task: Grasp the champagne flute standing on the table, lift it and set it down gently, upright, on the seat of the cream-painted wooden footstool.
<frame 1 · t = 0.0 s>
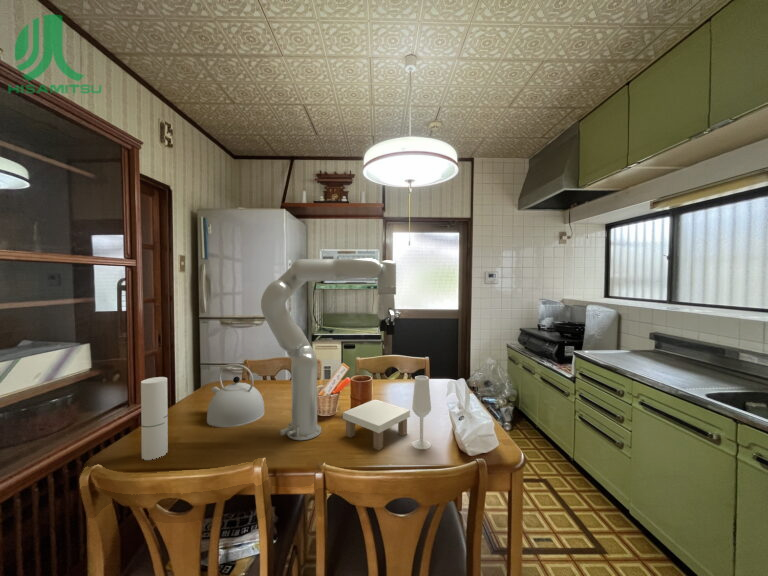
hand: (386, 332, 132), 37 cm above the table, tool pointing down, fingers open, 9 cm apart
kettle: (234, 416, 140), on the table
cylindrical container: (154, 454, 108), on the table
footstool: (376, 434, 122), on the table
champagne flute: (421, 444, 115), on the table
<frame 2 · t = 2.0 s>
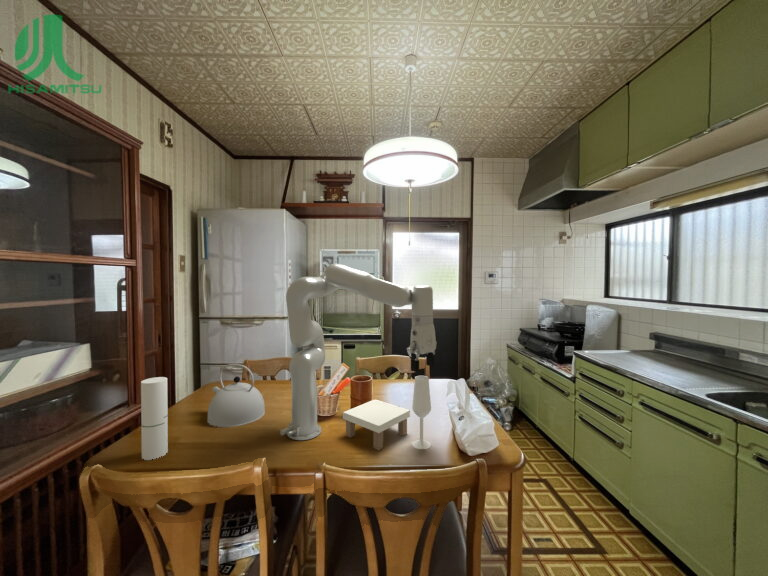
hand: (422, 368, 115), 27 cm above the table, tool pointing down, fingers open, 9 cm apart
nothing on the table moved.
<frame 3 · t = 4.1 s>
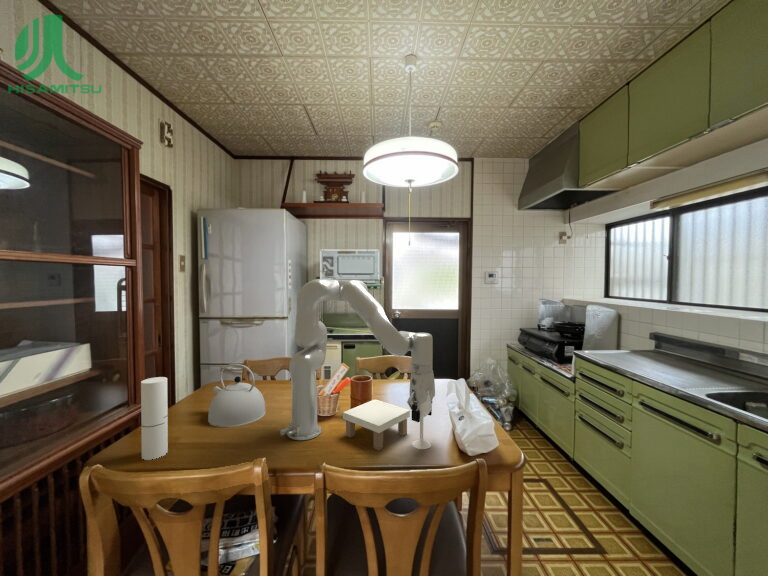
hand: (421, 417, 115), 10 cm above the table, tool pointing down, fingers closed on champagne flute, 6 cm apart
champagne flute: (421, 444, 115), on the table, touching gripper
everything else where it was.
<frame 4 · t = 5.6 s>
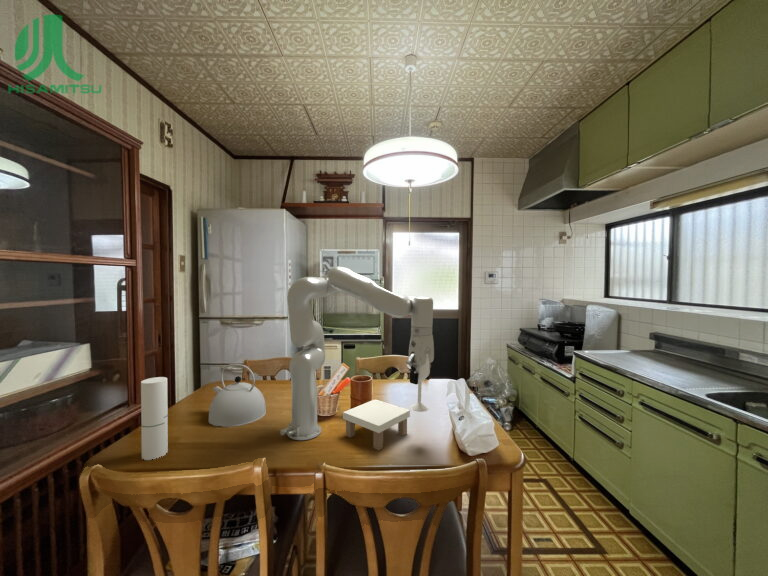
hand: (419, 380, 115), 23 cm above the table, tool pointing down, fingers closed on champagne flute, 6 cm apart
champagne flute: (419, 408, 115), point 13 cm above the table, touching gripper
everything else where it was.
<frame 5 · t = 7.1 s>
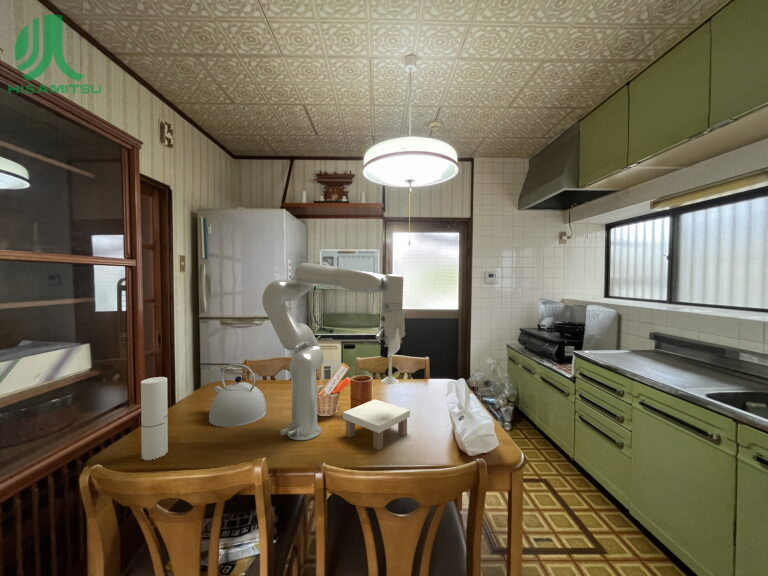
hand: (390, 355, 119), 31 cm above the table, tool pointing down, fingers closed on champagne flute, 6 cm apart
champagne flute: (389, 381, 120), point 21 cm above the table, touching gripper
everything else where it was.
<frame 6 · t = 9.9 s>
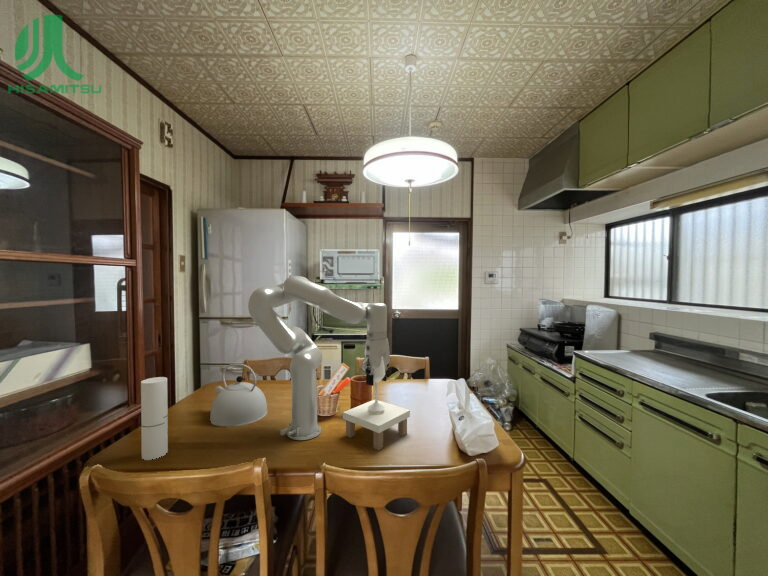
hand: (376, 382, 122), 20 cm above the table, tool pointing down, fingers closed on champagne flute, 6 cm apart
champagne flute: (376, 408, 122), point 10 cm above the table, touching gripper
when the fingers open (20 cm above the table, at t = 10.3 s): champagne flute drops 1 cm, resting on footstool.
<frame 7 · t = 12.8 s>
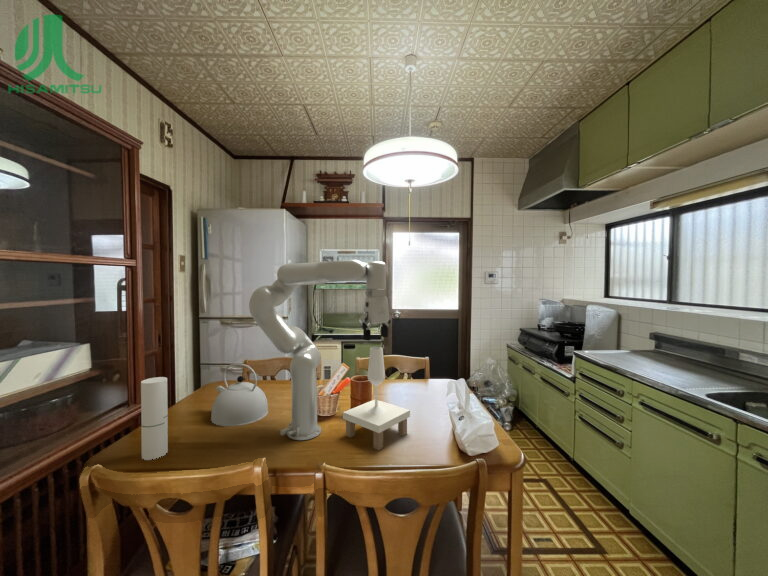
hand: (375, 338, 124), 36 cm above the table, tool pointing down, fingers open, 9 cm apart
champagne flute: (376, 411, 122), point 9 cm above the table, touching footstool
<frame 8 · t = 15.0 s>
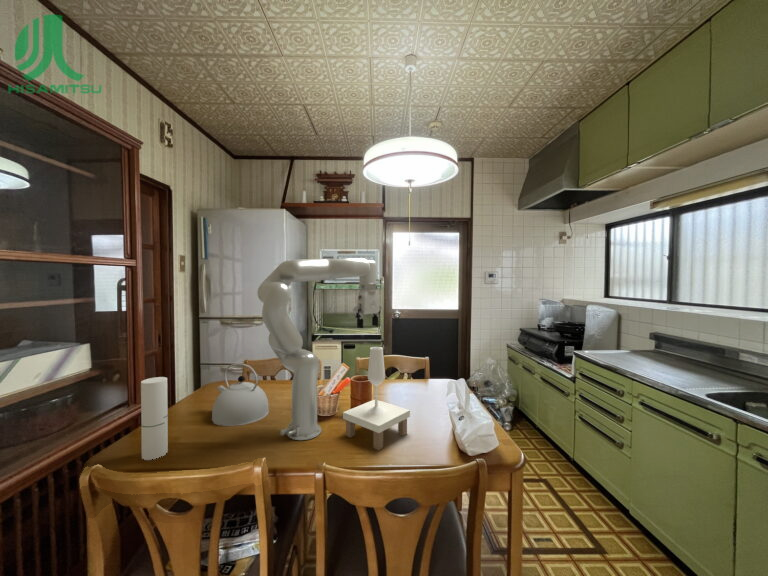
hand: (367, 326, 143), 38 cm above the table, tool pointing down, fingers open, 9 cm apart
at the end: champagne flute inside the target area on the footstool (0.1 cm from its centre), point 8.8 cm above the footstool's base; champagne flute tilted 0°; the gripper is holding nothing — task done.
